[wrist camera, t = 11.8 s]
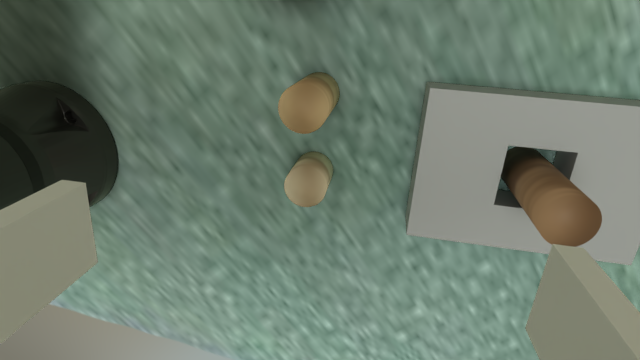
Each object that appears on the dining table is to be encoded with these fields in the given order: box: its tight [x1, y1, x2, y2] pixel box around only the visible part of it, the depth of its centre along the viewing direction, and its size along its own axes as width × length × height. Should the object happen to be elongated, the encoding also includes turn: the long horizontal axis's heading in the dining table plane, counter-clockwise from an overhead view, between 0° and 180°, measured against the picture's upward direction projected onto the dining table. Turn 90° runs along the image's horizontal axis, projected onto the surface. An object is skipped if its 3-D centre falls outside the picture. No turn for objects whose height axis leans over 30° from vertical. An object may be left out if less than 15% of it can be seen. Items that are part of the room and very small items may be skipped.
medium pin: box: [278, 72, 340, 134], centre depth 37 cm, size 4×4×8 cm
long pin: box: [501, 147, 602, 247], centre depth 34 cm, size 4×4×12 cm
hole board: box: [405, 82, 640, 265], centre depth 38 cm, size 20×14×4 cm
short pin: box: [284, 152, 333, 207], centre depth 41 cm, size 4×4×5 cm
